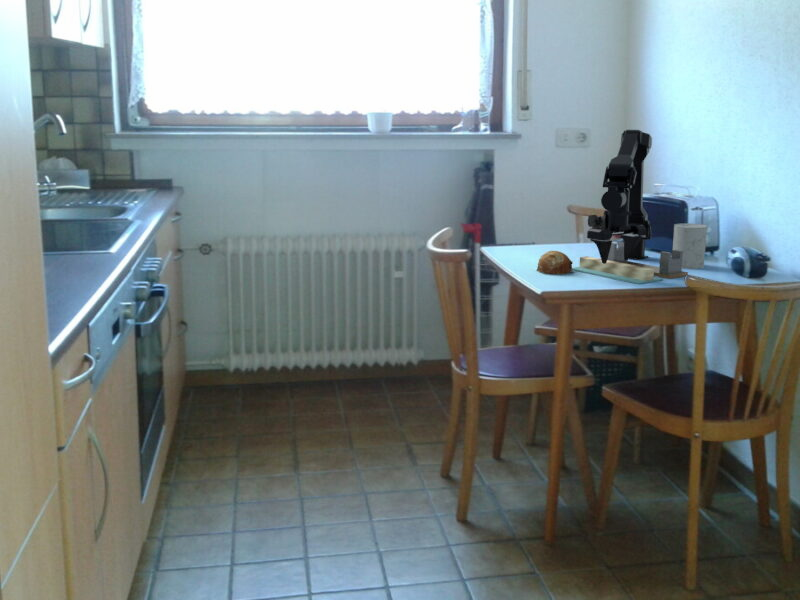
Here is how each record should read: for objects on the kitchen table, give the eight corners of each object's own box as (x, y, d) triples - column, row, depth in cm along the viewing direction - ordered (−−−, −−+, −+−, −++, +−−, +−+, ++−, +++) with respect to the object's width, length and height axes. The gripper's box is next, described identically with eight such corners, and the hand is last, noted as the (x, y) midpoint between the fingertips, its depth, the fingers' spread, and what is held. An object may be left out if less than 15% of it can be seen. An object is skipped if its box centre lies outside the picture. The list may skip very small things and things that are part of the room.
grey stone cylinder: (706, 264, 270) (709, 224, 267) (702, 269, 261) (705, 228, 259) (673, 262, 274) (676, 222, 271) (668, 267, 265) (671, 226, 263)
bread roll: (539, 280, 264) (528, 256, 262) (570, 265, 264) (559, 241, 262) (547, 287, 255) (536, 262, 253) (579, 271, 254) (568, 247, 253)
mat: (592, 266, 267) (592, 264, 267) (662, 280, 246) (662, 278, 246) (569, 269, 261) (569, 268, 261) (638, 284, 240) (638, 282, 240)
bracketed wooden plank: (599, 265, 269) (600, 242, 267) (617, 262, 273) (618, 239, 271) (669, 278, 248) (671, 254, 246) (687, 275, 252) (689, 251, 251)
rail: (579, 267, 263) (579, 257, 262) (586, 266, 264) (587, 256, 264) (645, 281, 243) (646, 270, 242) (653, 279, 244) (653, 269, 244)
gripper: (618, 202, 261) (615, 254, 264) (574, 206, 251) (571, 261, 254) (648, 206, 252) (645, 260, 256) (603, 210, 242) (600, 266, 245)
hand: (615, 261), depth 253 cm, fingers open, 9 cm apart
